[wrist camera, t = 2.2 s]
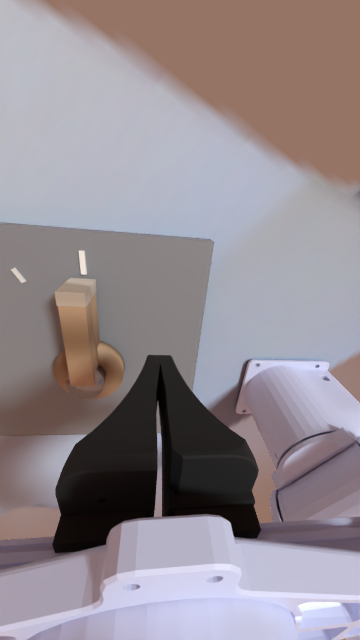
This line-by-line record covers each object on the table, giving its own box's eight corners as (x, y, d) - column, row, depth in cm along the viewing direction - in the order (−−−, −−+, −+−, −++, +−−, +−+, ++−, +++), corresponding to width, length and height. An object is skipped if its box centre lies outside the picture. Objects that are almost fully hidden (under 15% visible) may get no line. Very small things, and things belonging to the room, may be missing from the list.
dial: (125, 390, 24) (120, 416, 21) (63, 389, 23) (50, 416, 20) (122, 280, 19) (116, 294, 16) (42, 275, 18) (20, 290, 15)
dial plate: (210, 239, 19) (214, 242, 18) (185, 422, 29) (186, 434, 28) (-86, 215, 17) (-110, 217, 15) (-5, 424, 27) (-15, 437, 25)
